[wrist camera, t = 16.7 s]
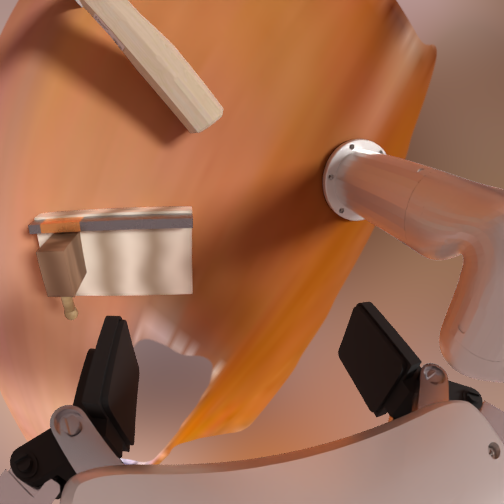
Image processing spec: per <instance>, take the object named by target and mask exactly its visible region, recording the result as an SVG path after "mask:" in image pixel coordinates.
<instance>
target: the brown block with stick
mask: <svg viewBox="0 0 504 504" xmlns="http://www.w3.org/2000/svg"><path fill="white" fill-rule="evenodd" d="M36 254H37V259H38V263H39V267H40V271H41V275H42V278H43V282H44V285H45V289H46V292H47V295H48V297H61V300H62V303H63V307H64V314H65V316H66V318H67V319H69V320H74V319H76V318H77V316H78V310H77V308H76V307H75V305H74V302H73V298H72V297H75V295H76V293H77V291H78V289H79V287H80V285H81V283H82V281H83V279H84V277H85V275H86V273H87V271H86V266H85V260H84V255H83V249H82V243H81V236H80V231H79V232H59V233H54V234H53V235H52V236H51V237H50V238H49V239H48V240H47V241H46V242H45V243H44V244H43V245H42V246H41V247H40V248H39V249H38V250H37V252H36Z"/></svg>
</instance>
